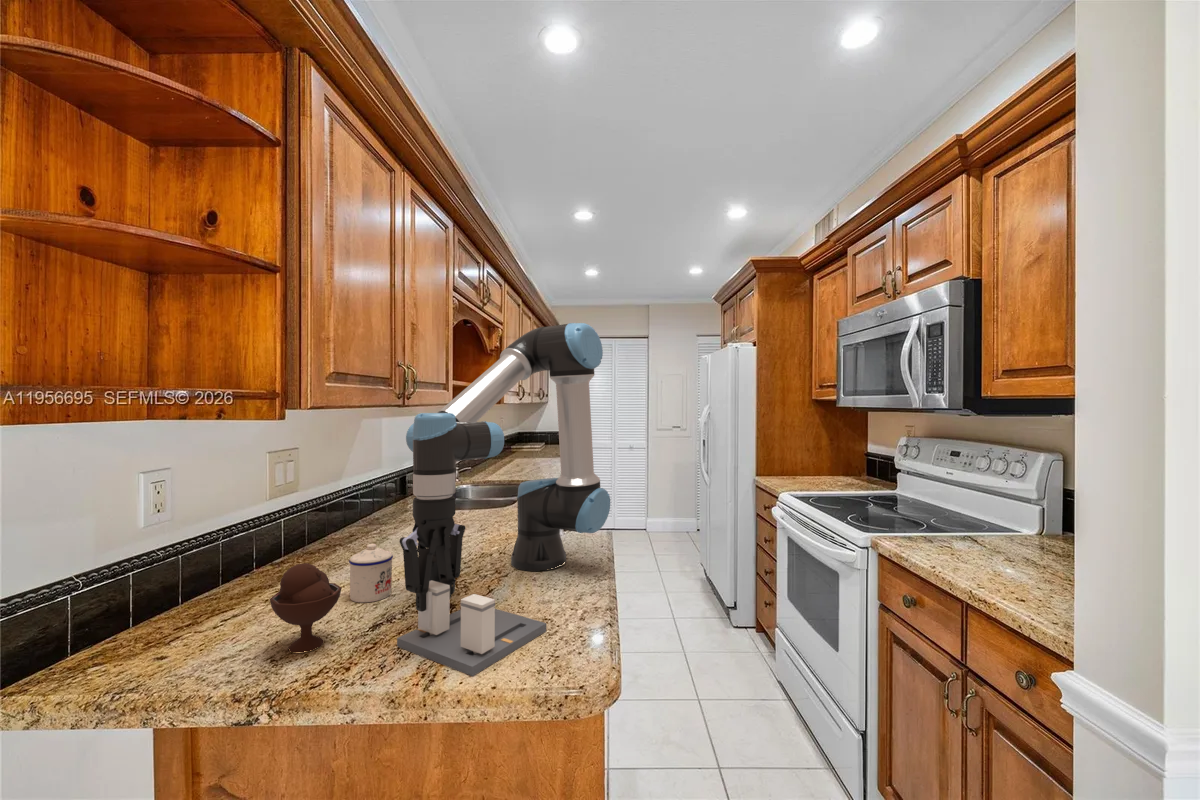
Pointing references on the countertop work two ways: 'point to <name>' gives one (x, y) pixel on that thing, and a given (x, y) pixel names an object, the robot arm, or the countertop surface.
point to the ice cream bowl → (305, 602)
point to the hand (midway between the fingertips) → (433, 622)
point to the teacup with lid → (370, 574)
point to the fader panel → (449, 652)
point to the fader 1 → (439, 608)
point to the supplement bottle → (434, 572)
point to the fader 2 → (477, 623)
